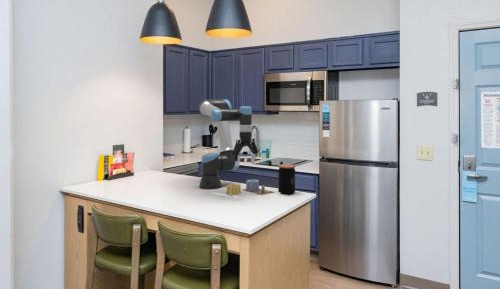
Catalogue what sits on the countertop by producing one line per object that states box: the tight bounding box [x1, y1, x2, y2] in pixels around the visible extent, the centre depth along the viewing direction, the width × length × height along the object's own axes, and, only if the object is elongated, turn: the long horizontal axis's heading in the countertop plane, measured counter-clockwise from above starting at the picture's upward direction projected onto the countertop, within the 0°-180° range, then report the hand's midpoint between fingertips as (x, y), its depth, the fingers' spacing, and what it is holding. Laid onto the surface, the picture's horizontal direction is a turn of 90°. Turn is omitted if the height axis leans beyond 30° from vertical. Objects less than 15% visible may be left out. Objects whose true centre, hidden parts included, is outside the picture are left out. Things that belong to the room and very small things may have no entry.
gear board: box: [241, 184, 275, 196], centre depth 237 cm, size 20×12×6 cm, turn 42°
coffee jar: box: [278, 163, 296, 196], centre depth 235 cm, size 11×11×18 cm
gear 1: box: [226, 183, 242, 197], centre depth 232 cm, size 9×8×6 cm
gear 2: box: [245, 178, 260, 191], centre depth 241 cm, size 9×8×6 cm
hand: (245, 165), depth 229 cm, fingers open, 13 cm apart
